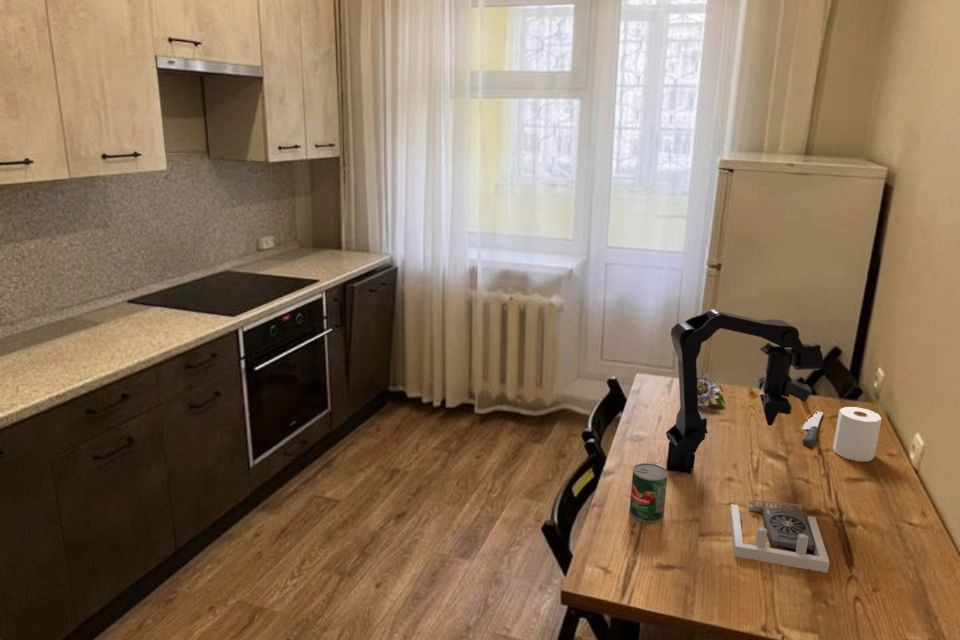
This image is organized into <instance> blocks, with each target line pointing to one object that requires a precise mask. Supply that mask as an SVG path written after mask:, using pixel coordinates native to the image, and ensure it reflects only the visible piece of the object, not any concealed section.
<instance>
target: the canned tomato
mask: <svg viewBox="0 0 960 640" xmlns="http://www.w3.org/2000/svg"><path fill="white" fill-rule="evenodd" d="M668 474H669V473H668V470H666V468H664V467H663V466H661V465H658V464H654V463H650V462H649V463H647V462H645V463H643V462H642V463H638V464H636V465H634V466H633V468H632V475H631V476H632V478H631V489H630V500H629V501H630V503H629V509H628V510H629V513H630V515H631V516H632V517H633V518H634V519H636V520H637V521H640V522H643V523H644V522H645V523H657V521H658V522H660V521H662V520H663V519H664V517H665V515H664V513H665V506H666V505H665V504H666V493H667V484H668Z"/></svg>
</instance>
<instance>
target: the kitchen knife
mask: <svg viewBox="0 0 960 640" xmlns="http://www.w3.org/2000/svg"><path fill="white" fill-rule="evenodd" d="M816 412H817V414H816V413H815V414H814V415H813V417H811V418H810V419H808V418H807V419H808V421H807V422H806V421H805V422H804V424H803V426H802V427H801V430H806V431H807V430H808V431H807V432H806V437H804V438H802V445H803V446H805V447H807V448H811V447H813V446H814V444H815V443H816V441H817V438H818V430H819V425H820V422H821V419H822V418H823V416H824V412H822V411H816Z"/></svg>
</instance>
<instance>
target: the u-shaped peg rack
mask: <svg viewBox="0 0 960 640" xmlns="http://www.w3.org/2000/svg"><path fill="white" fill-rule="evenodd" d="M739 509H740V507H739V505H738V504H732V503H731V504H730V509H729V519H730V521H729V522H730V531H731V538H732V549H733V557H734V556H735V558H740V557H741V558H742V559H746V558H748V559H747V560H751V559H754V560H753V561H757V560H758V562H762V563H763V562H764V563H770V564H773V565H774V564H775V565H781V566H787V567H793V568H797V569H802V568H803V569H804V570H808V569H810V571H814V570H815V572H819V571H821V573H826V574H827V573H829V567H830V564H831V563H830V560H829V559H830V558H829V556H828V553H827V550H826V547H825V545H824V544H825V543H824V540H823V538H822V535H821V531H820V528H819V525H818V522H817V519H816V518H817V517H815V516H809V515H808V516H807V517H806V523H807V526H808V528H809V531H810V534H811V536H812V539H813V542H814V544H815V546H814V550H812V551H813V554H808V553H807V545H808V539H809V537H808V536H807V535H805V534H799V535H798V539H797V545H796V549H795V551H790V550H785V549H780V548H773V547H767V546H766V542H767V537H768V533H767V529H766V527H762V526H759V527H757V529H756V537H755V544H748V543H744V540H743V533H742V524H741V517H740V510H739Z"/></svg>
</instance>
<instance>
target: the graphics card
mask: <svg viewBox="0 0 960 640" xmlns="http://www.w3.org/2000/svg"><path fill="white" fill-rule="evenodd" d="M748 502H749V503H748V504H749V505H751V506H748V507H747V508H748V509H747V510H748V511H751V512H752V511H753V512H759V514H761V516H762V521H763V522H764V525H765V529H767V537H768V539H769V540H770V542H771V546H772V545H773V546H775V547H778V546H781V547H785V548H789V549H794V550H796V545H797V539H798V535H799V534H805V535H807V536H808V537H809V539H808V545H807V549H808V550H810V551H813V550H814V546H815V544H814V542H813V539H812V536H811V534H810V531H809V528H808V526H807V523H806V522H807V520H806V518H805V516H804V514H803V511H802V510H803V505H802V504H803V503H800V504H798V503H792V502H791V503H790V502H783V501H782V502H780V501H771V500H762V499H752V500H749V501H748ZM766 503H767V505H766ZM775 504H776V506H775ZM771 505H772V507H771Z"/></svg>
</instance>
